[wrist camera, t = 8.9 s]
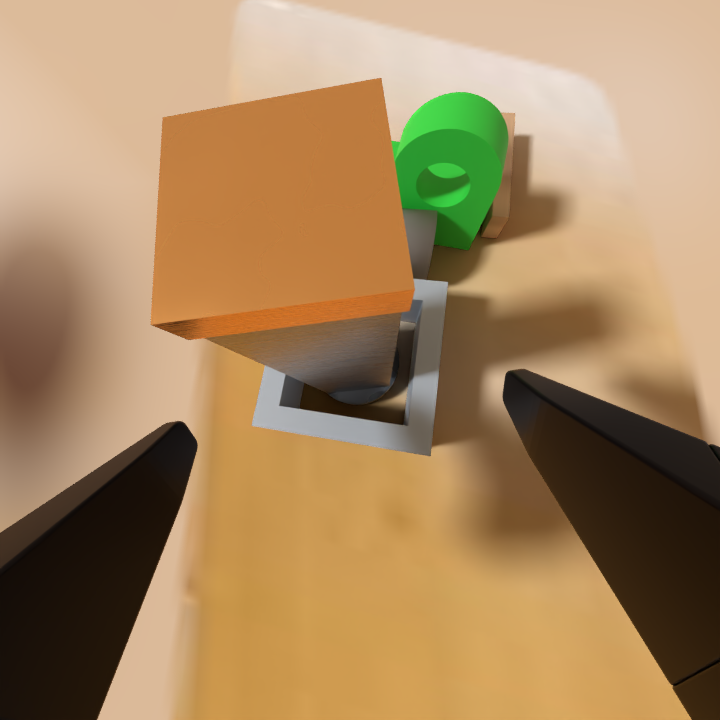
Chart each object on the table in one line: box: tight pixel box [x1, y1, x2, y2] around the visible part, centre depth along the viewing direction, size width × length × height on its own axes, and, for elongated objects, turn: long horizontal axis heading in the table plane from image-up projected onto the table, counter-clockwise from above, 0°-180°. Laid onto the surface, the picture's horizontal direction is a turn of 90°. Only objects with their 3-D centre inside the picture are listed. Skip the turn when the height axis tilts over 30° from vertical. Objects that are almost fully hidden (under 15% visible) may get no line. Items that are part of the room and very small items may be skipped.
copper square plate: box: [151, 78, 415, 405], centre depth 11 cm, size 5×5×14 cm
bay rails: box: [481, 113, 515, 238], centre depth 20 cm, size 8×16×2 cm, turn 81°
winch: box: [252, 208, 448, 456], centre depth 16 cm, size 14×9×4 cm, turn 171°
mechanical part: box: [391, 92, 509, 250], centre depth 17 cm, size 12×6×8 cm, turn 75°
